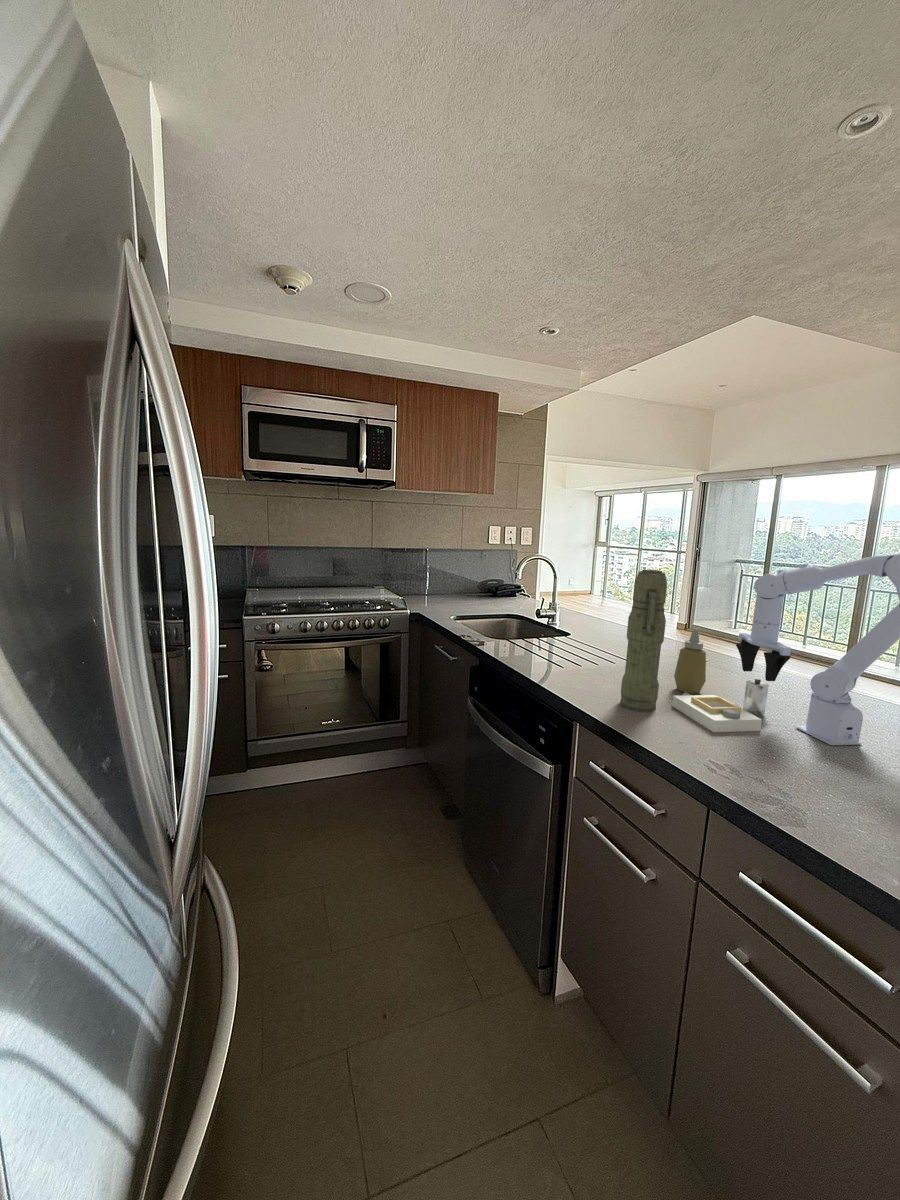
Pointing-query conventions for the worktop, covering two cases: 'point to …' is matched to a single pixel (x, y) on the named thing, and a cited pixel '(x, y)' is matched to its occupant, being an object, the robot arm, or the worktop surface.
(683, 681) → the squeeze bottle
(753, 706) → the spout can
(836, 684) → the robot arm
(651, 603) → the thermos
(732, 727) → the white holder tray
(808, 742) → the worktop surface
